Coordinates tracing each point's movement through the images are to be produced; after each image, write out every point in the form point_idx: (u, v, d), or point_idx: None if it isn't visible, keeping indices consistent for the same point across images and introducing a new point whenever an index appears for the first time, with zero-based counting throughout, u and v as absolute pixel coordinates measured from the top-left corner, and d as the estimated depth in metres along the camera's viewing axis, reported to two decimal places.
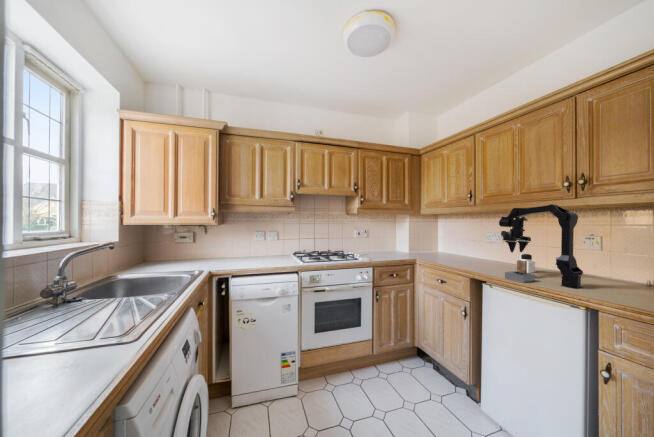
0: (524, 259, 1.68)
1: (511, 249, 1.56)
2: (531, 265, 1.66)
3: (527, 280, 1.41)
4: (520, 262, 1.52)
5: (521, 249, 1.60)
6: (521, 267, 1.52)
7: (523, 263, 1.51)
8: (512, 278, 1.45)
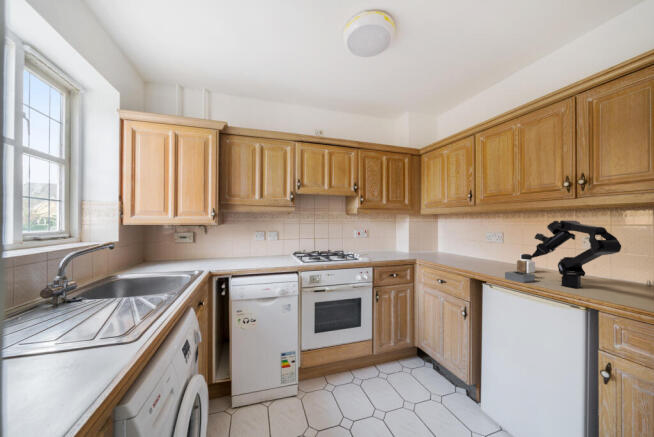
0: (524, 259, 1.68)
1: (534, 255, 1.45)
2: (531, 265, 1.66)
3: (527, 280, 1.41)
4: (520, 262, 1.52)
5: None
6: (522, 267, 1.52)
7: (523, 263, 1.51)
8: (512, 278, 1.45)
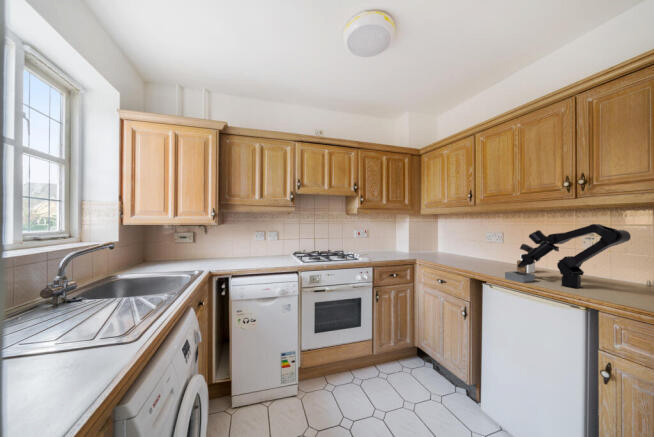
0: None
1: (520, 265, 1.52)
2: (531, 265, 1.66)
3: (527, 280, 1.41)
4: None
5: None
6: (521, 267, 1.52)
7: None
8: (512, 278, 1.45)
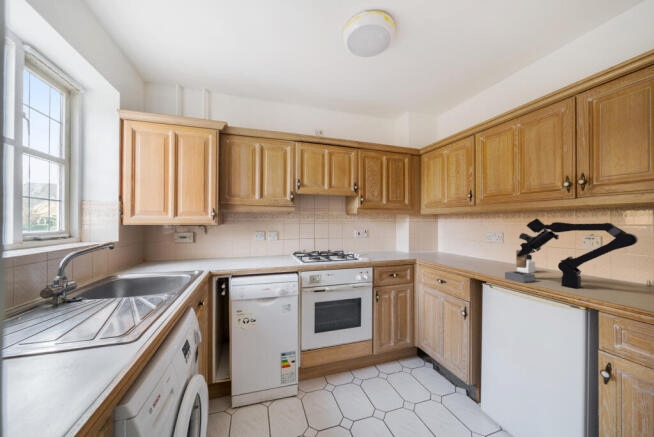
0: None
1: (519, 254, 1.49)
2: (531, 265, 1.66)
3: (527, 280, 1.41)
4: None
5: None
6: (521, 256, 1.49)
7: None
8: (512, 278, 1.45)
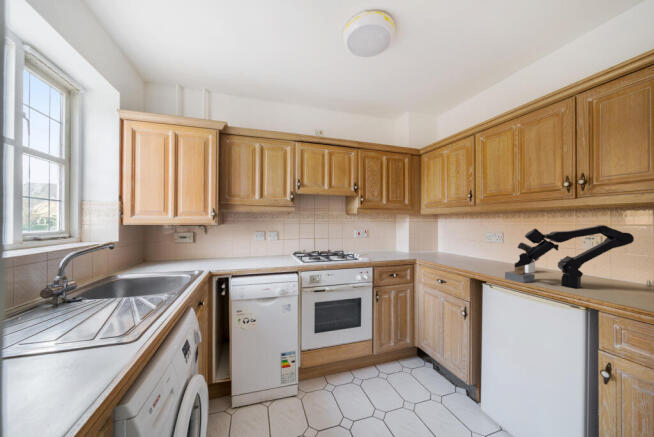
0: None
1: (517, 265, 1.44)
2: (531, 265, 1.66)
3: (527, 280, 1.41)
4: None
5: None
6: (519, 269, 1.45)
7: None
8: (512, 278, 1.45)
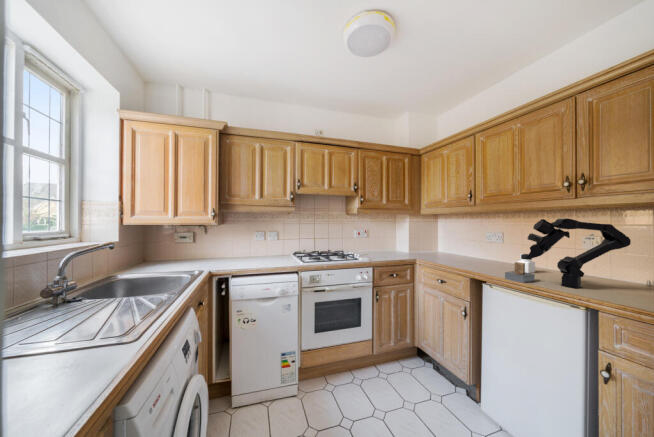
0: (524, 259, 1.68)
1: (529, 257, 1.40)
2: (531, 265, 1.66)
3: (527, 280, 1.41)
4: (518, 264, 1.45)
5: None
6: (519, 269, 1.45)
7: (521, 265, 1.44)
8: (512, 278, 1.45)
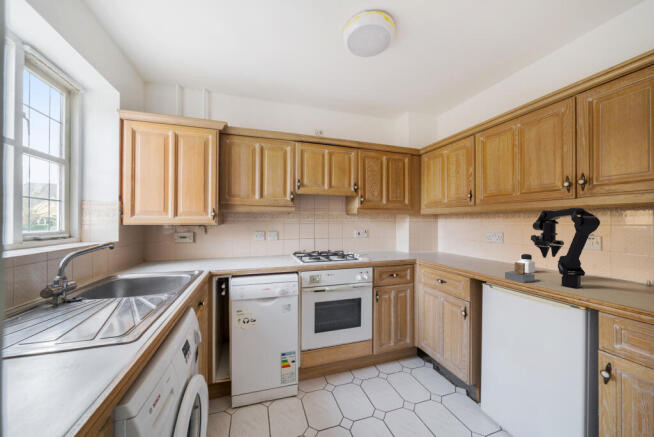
0: (524, 259, 1.68)
1: (543, 254, 1.47)
2: (531, 265, 1.66)
3: (527, 280, 1.41)
4: (518, 264, 1.45)
5: (554, 254, 1.50)
6: (519, 269, 1.45)
7: (521, 265, 1.44)
8: (512, 278, 1.45)
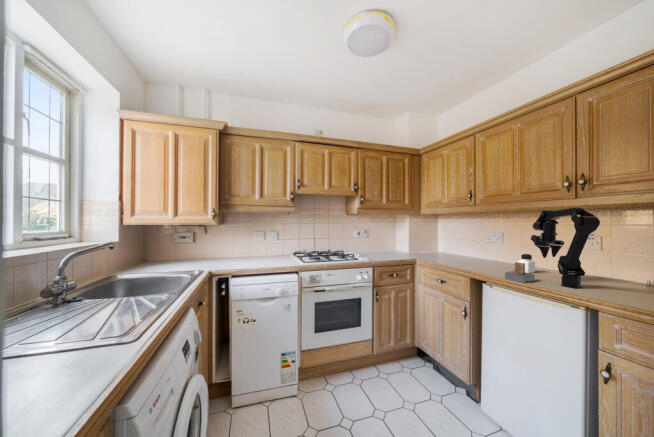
0: (524, 259, 1.68)
1: (544, 254, 1.47)
2: (531, 265, 1.66)
3: (527, 280, 1.41)
4: (518, 264, 1.45)
5: (554, 254, 1.50)
6: (519, 269, 1.45)
7: (521, 265, 1.44)
8: (512, 278, 1.45)
